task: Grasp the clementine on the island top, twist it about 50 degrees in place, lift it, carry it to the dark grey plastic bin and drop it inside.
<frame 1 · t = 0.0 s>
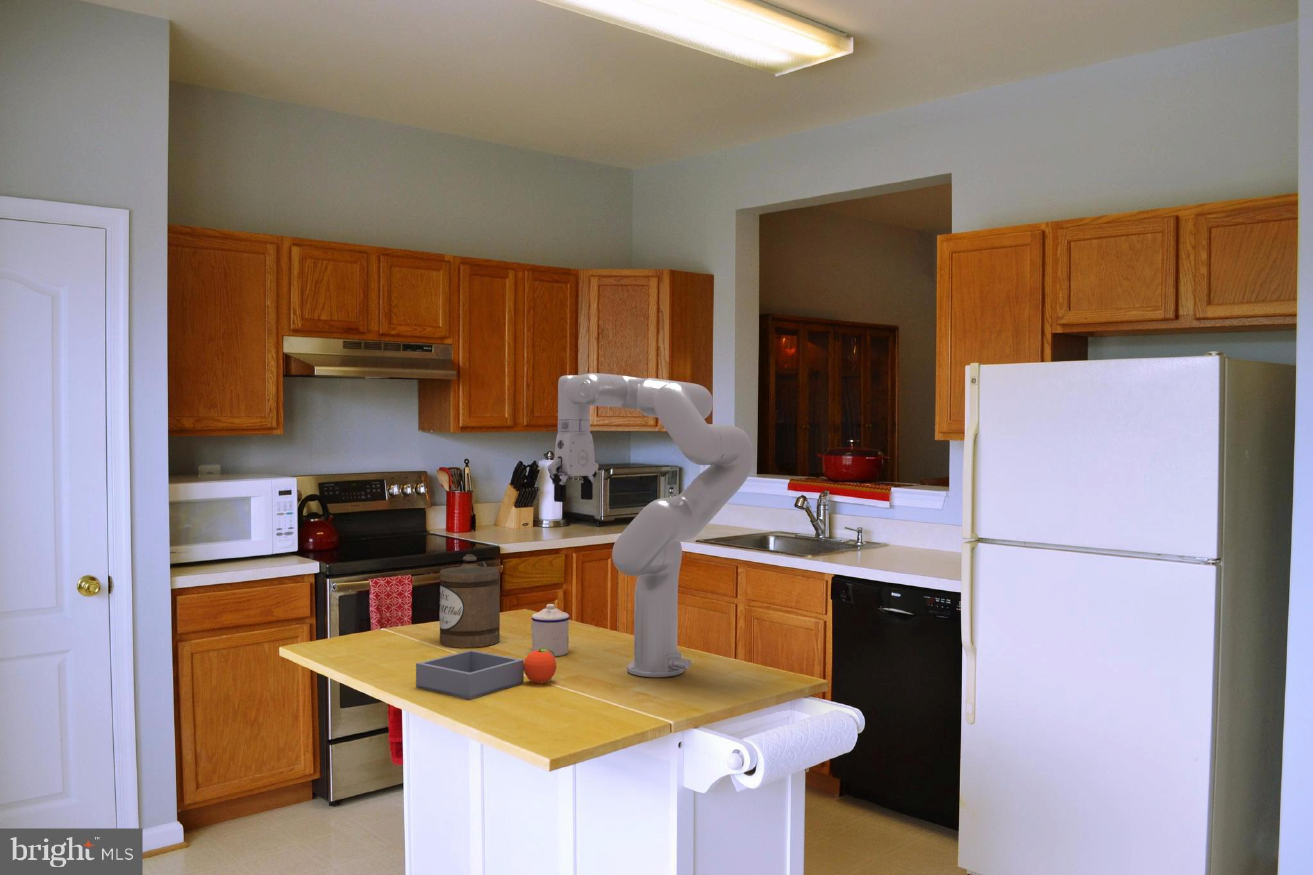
hand: (573, 500, 234), 37 cm above the countertop, tool pointing down, fingers open, 9 cm apart
clementine: (541, 683, 211), on the countertop
bin: (470, 685, 208), on the countertop
wooden container: (469, 642, 250), on the countertop
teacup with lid: (546, 652, 239), on the countertop
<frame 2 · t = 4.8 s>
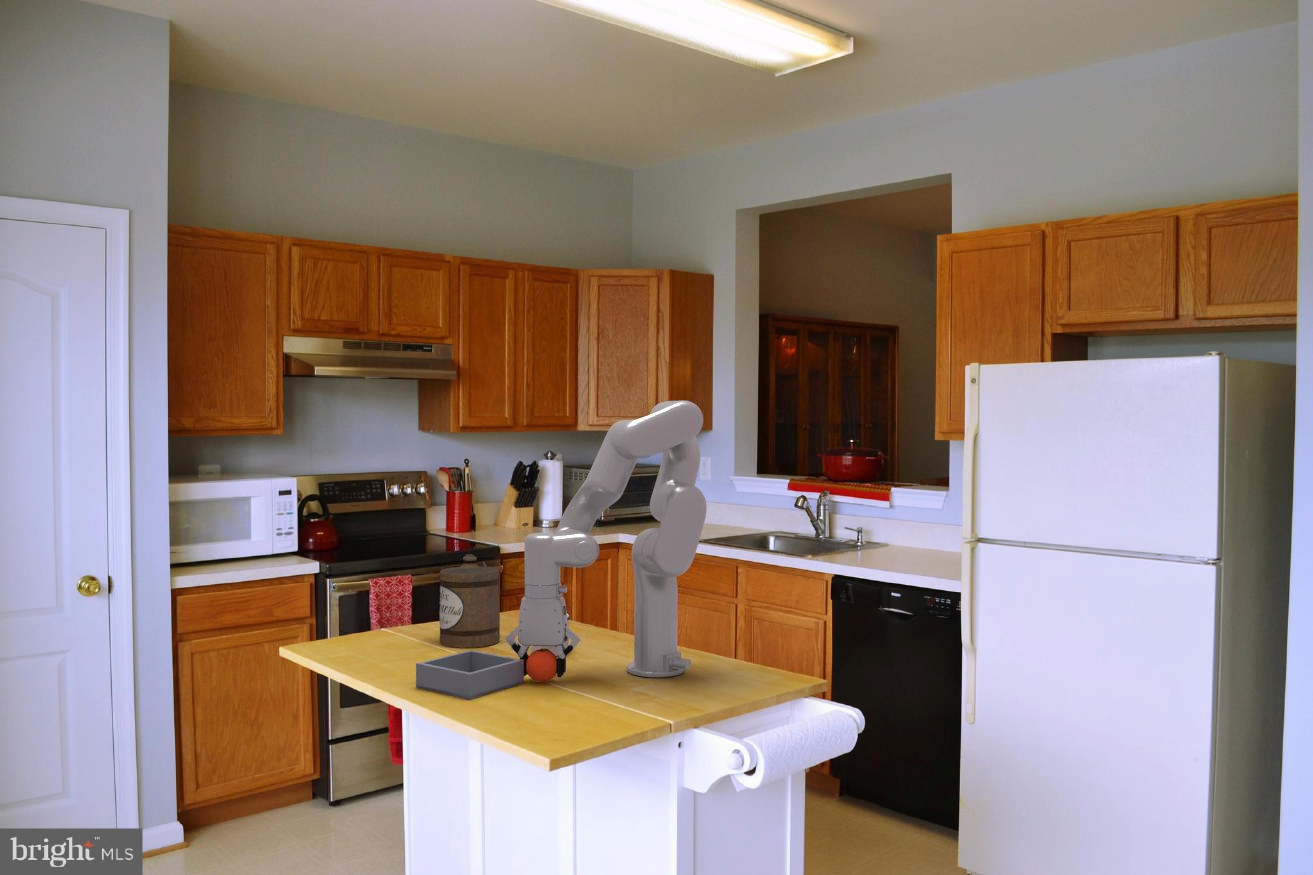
hand: (542, 674, 211), 1 cm above the countertop, tool pointing down, fingers closed on clementine, 7 cm apart
clementine: (543, 682, 211), on the countertop, touching gripper
everything else where it was.
when the fingers open (7 cm above the countertop, at t = 9.7 s): clementine drops 5 cm, resting on bin.
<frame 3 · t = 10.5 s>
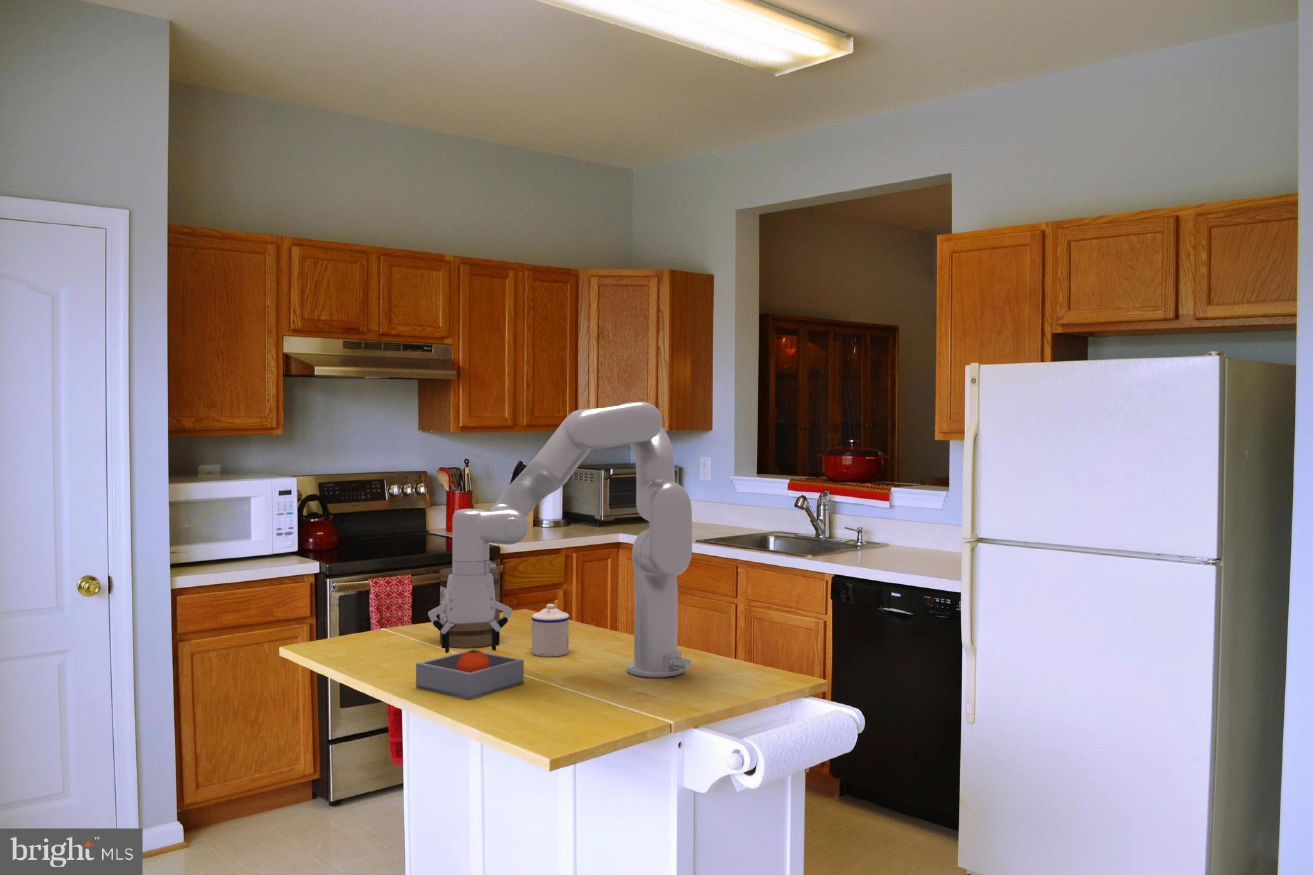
hand: (470, 650, 208), 7 cm above the countertop, tool pointing down, fingers open, 9 cm apart
clementine: (473, 684, 207), resting on bin
everything else where it was.
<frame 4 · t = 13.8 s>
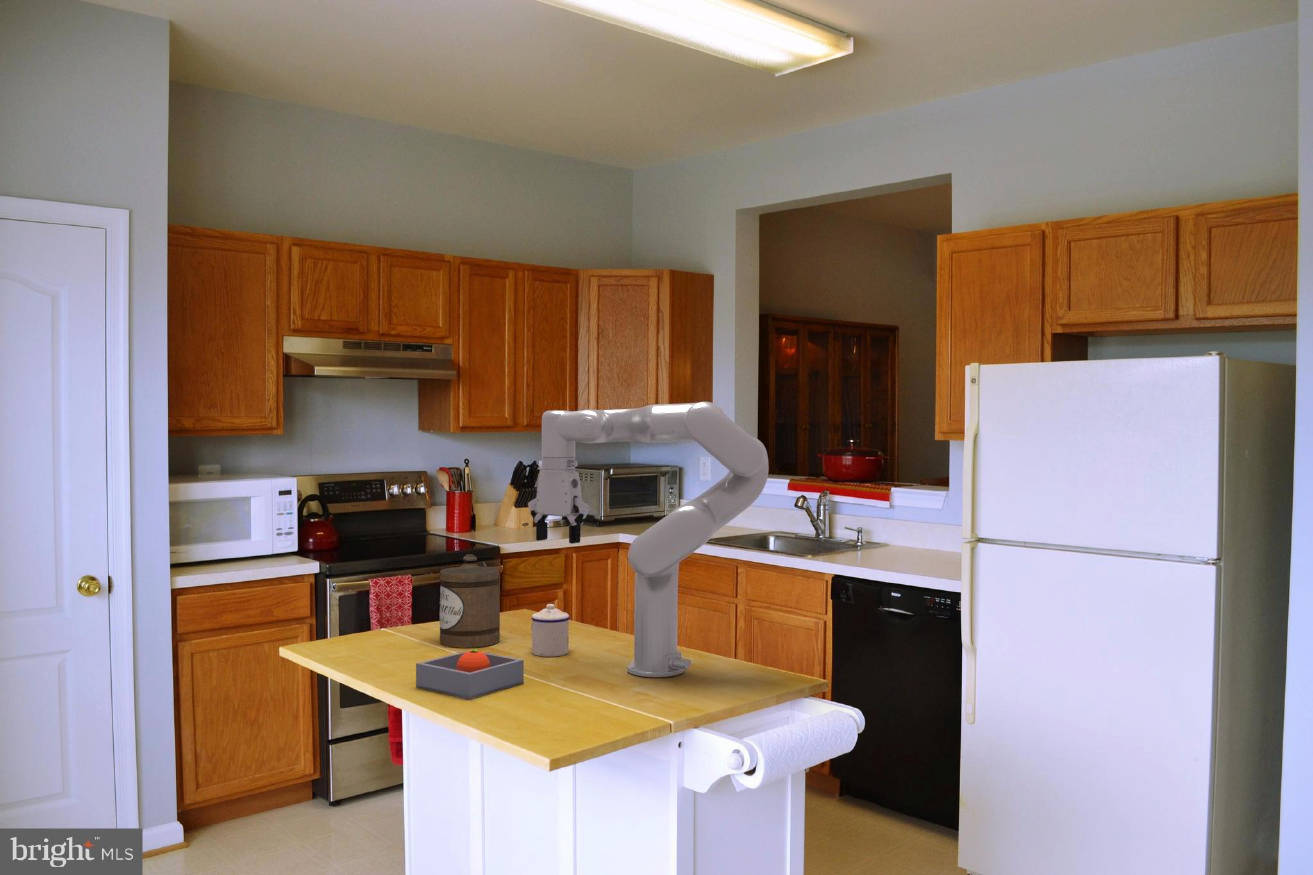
hand: (558, 541, 224), 28 cm above the countertop, tool pointing down, fingers open, 9 cm apart
nothing on the countertop moved.
at the end: clementine inside the target area on the bin (0.9 cm from its centre), point 0.4 cm above the bin's base; the gripper is holding nothing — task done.
